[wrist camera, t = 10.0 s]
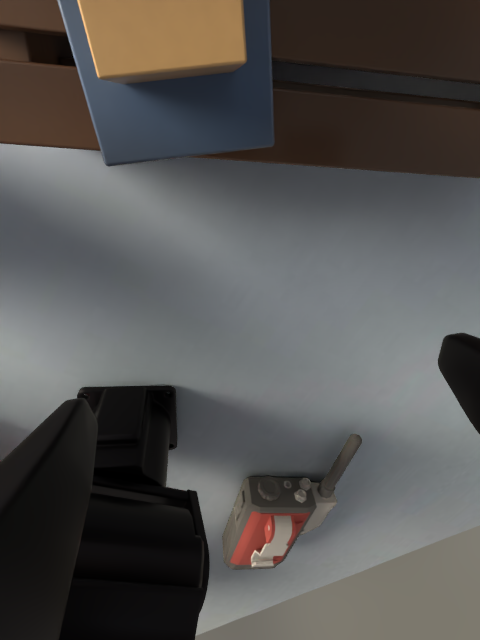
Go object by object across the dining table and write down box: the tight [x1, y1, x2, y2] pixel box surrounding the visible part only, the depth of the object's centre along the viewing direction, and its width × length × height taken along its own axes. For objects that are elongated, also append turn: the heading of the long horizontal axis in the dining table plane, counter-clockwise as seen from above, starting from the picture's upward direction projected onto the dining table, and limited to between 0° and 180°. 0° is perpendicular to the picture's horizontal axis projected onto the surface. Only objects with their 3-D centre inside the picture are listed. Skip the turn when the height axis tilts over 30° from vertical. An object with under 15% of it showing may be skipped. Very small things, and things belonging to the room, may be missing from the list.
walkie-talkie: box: [222, 434, 362, 570], centre depth 31 cm, size 9×4×20 cm
